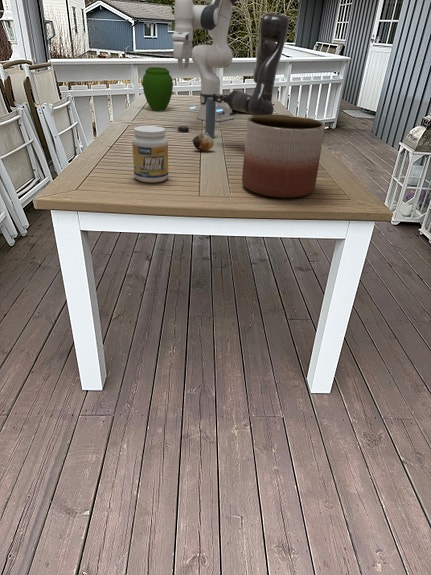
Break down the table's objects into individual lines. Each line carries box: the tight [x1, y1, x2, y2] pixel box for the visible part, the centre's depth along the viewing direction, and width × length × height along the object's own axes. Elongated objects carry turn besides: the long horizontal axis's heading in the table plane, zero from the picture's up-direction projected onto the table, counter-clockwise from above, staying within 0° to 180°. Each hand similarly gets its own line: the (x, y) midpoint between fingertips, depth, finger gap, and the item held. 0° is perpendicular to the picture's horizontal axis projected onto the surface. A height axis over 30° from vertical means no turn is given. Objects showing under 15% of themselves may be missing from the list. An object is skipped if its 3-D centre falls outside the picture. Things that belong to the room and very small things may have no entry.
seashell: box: [192, 132, 215, 152], centre depth 181 cm, size 10×6×8 cm, turn 97°
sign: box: [231, 109, 250, 115], centre depth 282 cm, size 19×3×30 cm
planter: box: [241, 114, 326, 199], centre depth 138 cm, size 25×25×22 cm
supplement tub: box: [131, 125, 169, 183], centre depth 142 cm, size 12×12×17 cm
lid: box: [177, 125, 189, 133], centre depth 217 cm, size 6×6×2 cm
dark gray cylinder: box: [204, 98, 216, 139], centre depth 202 cm, size 5×5×18 cm
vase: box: [141, 66, 174, 112], centre depth 261 cm, size 20×20×24 cm
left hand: (183, 69), depth 202 cm, fingers open, 8 cm apart
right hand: (221, 96), depth 189 cm, fingers open, 8 cm apart
